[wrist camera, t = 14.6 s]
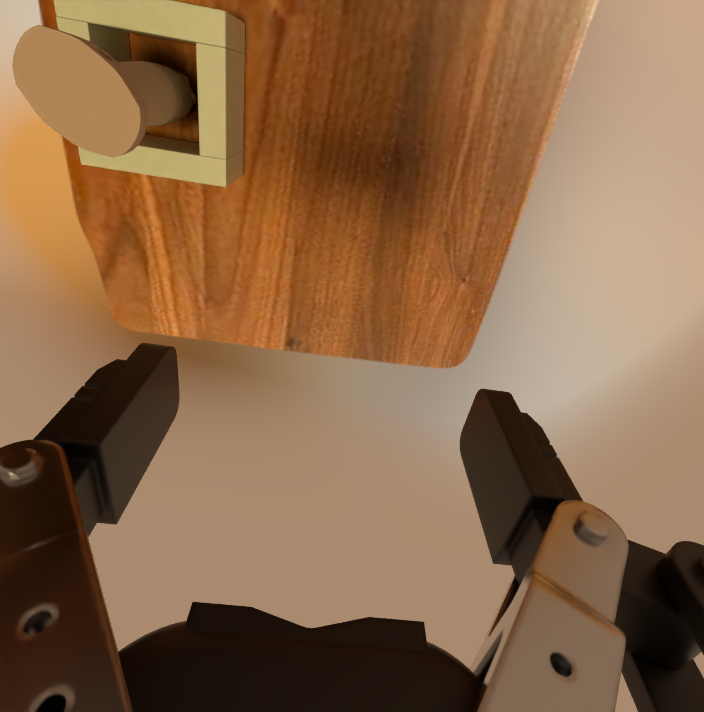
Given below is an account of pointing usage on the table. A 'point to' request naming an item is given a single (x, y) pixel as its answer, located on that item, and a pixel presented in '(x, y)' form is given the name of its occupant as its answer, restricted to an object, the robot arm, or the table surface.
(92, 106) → the handle
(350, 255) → the table surface
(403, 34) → the table surface
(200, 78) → the frame
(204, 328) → the table surface
